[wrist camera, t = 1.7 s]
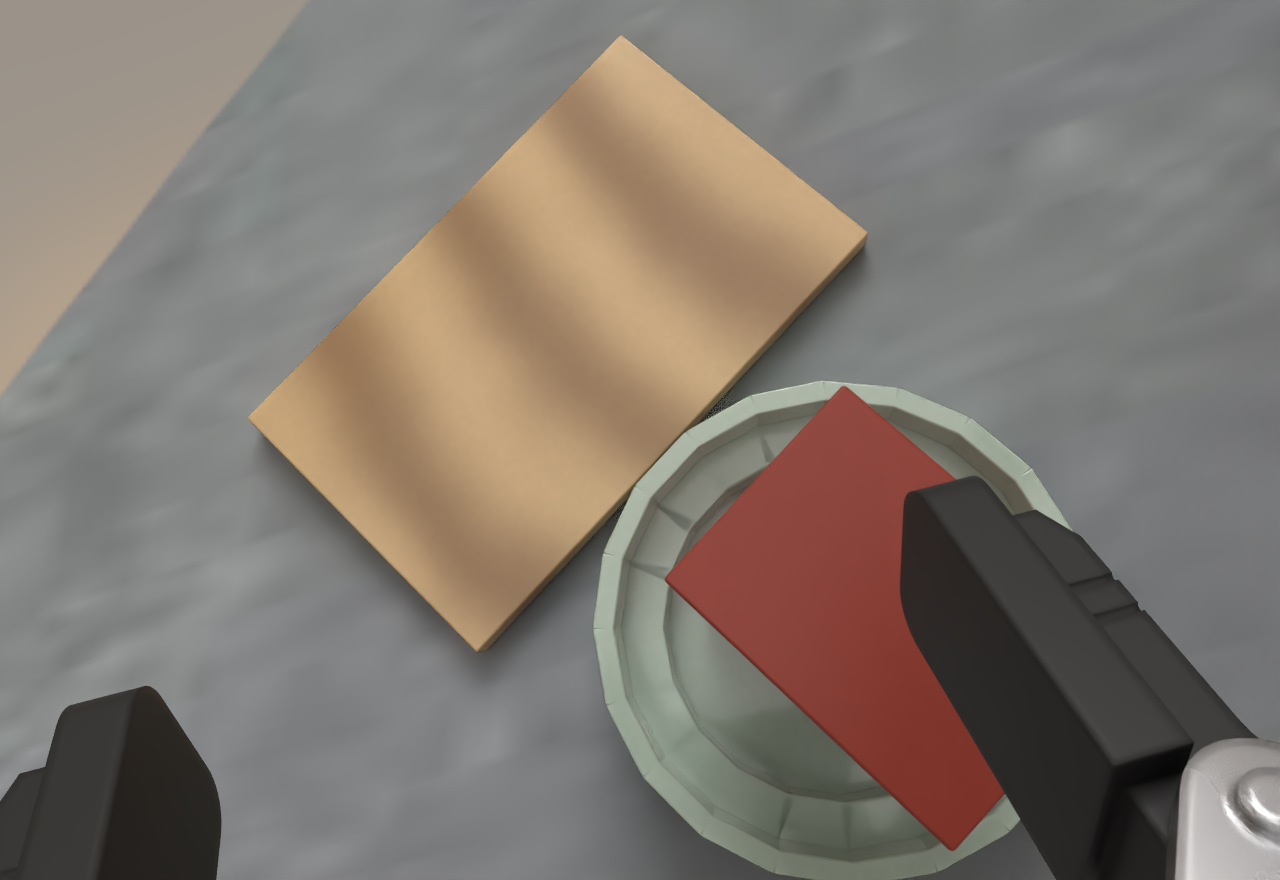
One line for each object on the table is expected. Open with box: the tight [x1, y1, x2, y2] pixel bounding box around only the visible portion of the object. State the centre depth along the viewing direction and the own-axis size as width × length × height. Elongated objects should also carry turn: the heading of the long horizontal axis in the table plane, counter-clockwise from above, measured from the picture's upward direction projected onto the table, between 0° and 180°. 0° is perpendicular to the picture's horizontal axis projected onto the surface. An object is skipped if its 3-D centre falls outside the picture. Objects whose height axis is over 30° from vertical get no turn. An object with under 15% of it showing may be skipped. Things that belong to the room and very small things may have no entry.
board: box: [248, 35, 868, 652], centre depth 34 cm, size 18×11×1 cm, turn 137°
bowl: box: [593, 381, 1073, 880], centre depth 29 cm, size 13×13×4 cm
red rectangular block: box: [665, 386, 1005, 851], centre depth 23 cm, size 4×6×15 cm
